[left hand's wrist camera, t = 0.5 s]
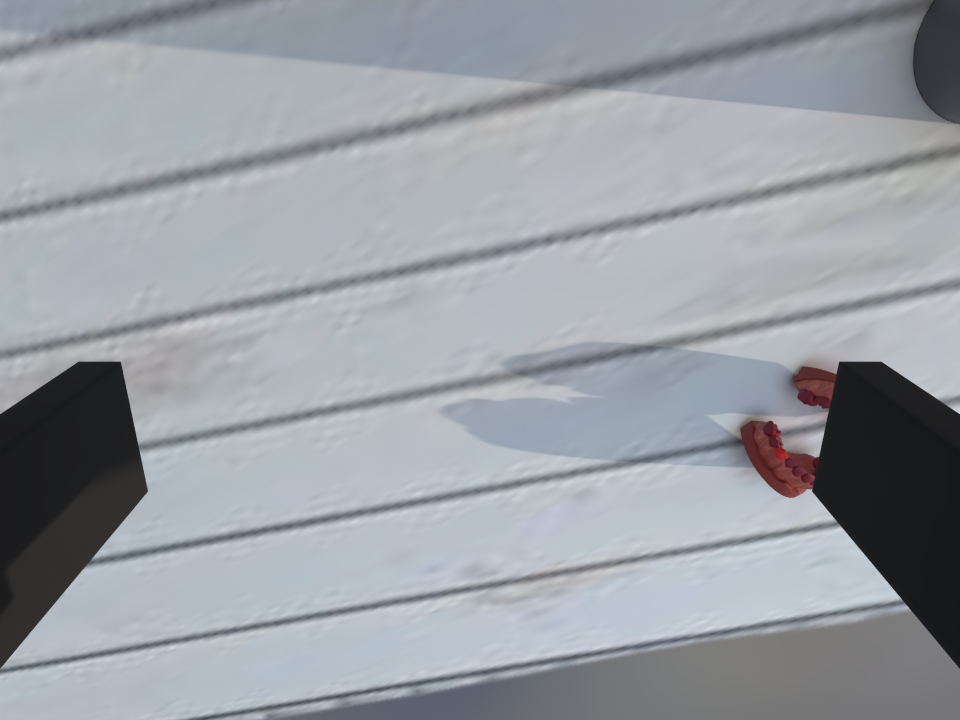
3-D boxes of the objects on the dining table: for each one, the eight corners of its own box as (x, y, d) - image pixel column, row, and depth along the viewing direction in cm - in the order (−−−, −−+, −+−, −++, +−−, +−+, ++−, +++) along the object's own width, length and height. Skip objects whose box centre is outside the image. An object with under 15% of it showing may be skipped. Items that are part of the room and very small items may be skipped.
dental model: (916, 428, 39) (812, 521, 41) (878, 399, 43) (785, 485, 45) (848, 373, 38) (746, 471, 40) (816, 348, 42) (724, 439, 44)
